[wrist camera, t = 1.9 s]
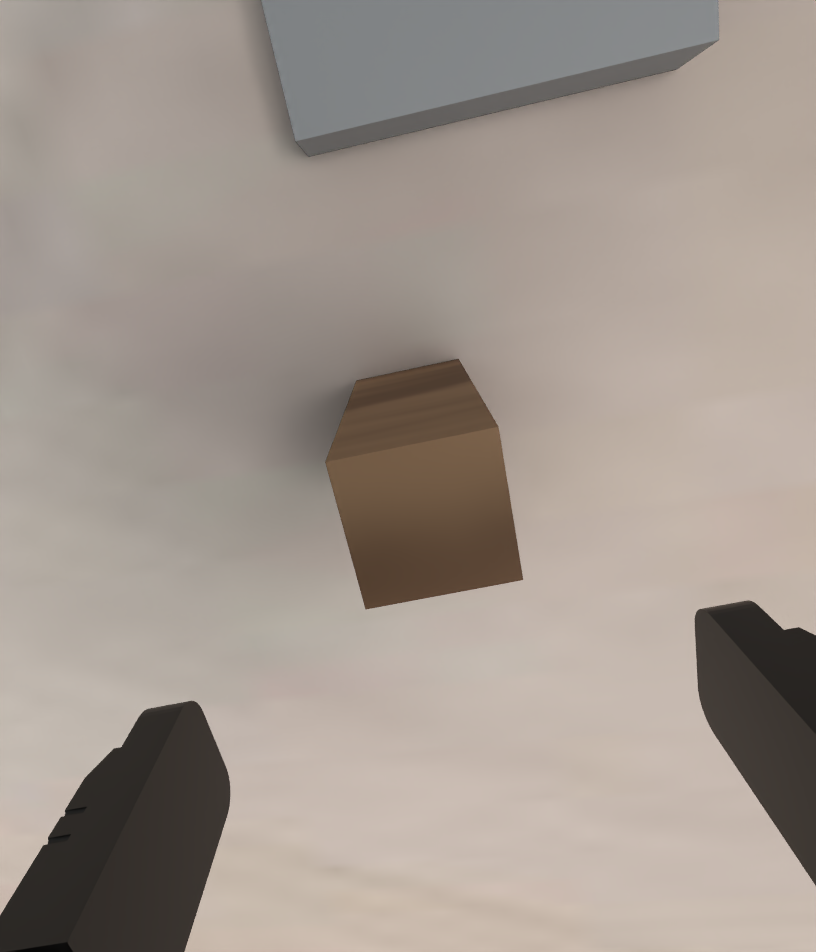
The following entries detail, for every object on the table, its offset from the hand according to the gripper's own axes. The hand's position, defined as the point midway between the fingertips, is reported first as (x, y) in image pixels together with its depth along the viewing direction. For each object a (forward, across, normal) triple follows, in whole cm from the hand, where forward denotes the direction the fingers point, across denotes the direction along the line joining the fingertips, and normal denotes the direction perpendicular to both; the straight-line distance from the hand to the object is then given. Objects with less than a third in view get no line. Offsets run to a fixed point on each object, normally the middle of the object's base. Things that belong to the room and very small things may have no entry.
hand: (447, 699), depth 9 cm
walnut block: (+18, 0, 0) cm, 18 cm away
